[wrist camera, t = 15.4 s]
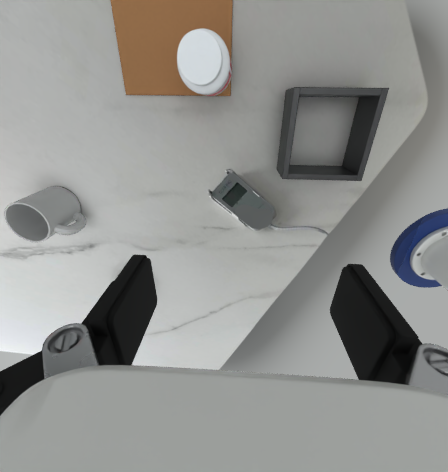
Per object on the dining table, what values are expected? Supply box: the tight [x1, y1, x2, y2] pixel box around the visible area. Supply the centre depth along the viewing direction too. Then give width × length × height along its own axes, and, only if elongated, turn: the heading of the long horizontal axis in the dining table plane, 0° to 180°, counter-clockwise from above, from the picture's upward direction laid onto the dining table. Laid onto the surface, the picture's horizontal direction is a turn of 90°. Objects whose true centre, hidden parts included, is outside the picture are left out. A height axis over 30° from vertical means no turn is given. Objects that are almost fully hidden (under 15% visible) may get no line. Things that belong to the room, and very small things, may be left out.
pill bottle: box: [177, 28, 232, 96], centre depth 29 cm, size 6×6×11 cm
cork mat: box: [111, 0, 232, 96], centre depth 33 cm, size 16×12×1 cm
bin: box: [277, 87, 389, 181], centre depth 35 cm, size 12×12×6 cm
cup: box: [4, 186, 86, 242], centre depth 42 cm, size 7×10×9 cm
